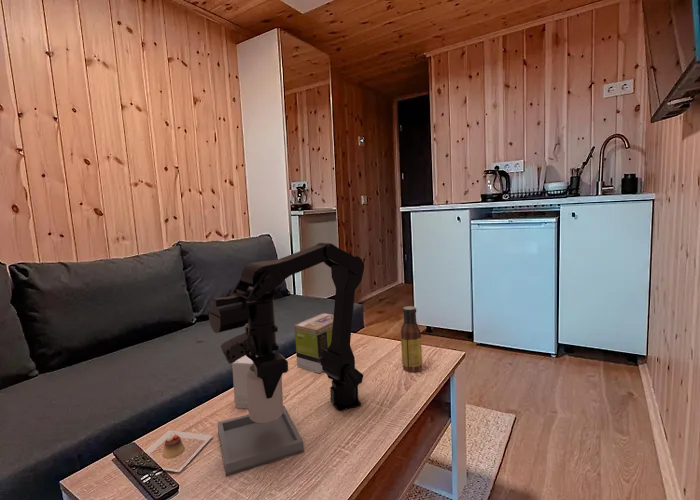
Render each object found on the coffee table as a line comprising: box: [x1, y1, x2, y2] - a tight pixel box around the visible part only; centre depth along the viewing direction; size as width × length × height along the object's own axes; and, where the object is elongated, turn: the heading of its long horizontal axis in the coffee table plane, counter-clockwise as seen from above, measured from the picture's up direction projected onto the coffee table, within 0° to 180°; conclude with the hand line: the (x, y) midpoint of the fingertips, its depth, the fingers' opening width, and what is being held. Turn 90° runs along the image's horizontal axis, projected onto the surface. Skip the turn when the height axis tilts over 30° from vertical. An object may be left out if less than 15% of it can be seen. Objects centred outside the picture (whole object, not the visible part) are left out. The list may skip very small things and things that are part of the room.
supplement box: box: [231, 355, 253, 410], centre depth 100 cm, size 7×7×13 cm
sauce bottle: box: [400, 305, 423, 372], centre depth 117 cm, size 6×6×20 cm
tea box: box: [294, 312, 334, 374], centre depth 124 cm, size 15×10×15 cm
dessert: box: [143, 429, 214, 473], centre depth 81 cm, size 12×12×5 cm
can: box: [247, 364, 284, 424], centre depth 83 cm, size 8×8×12 cm
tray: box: [217, 405, 305, 477], centre depth 84 cm, size 16×16×2 cm
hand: (265, 389), depth 83 cm, fingers closed on can, 7 cm apart
